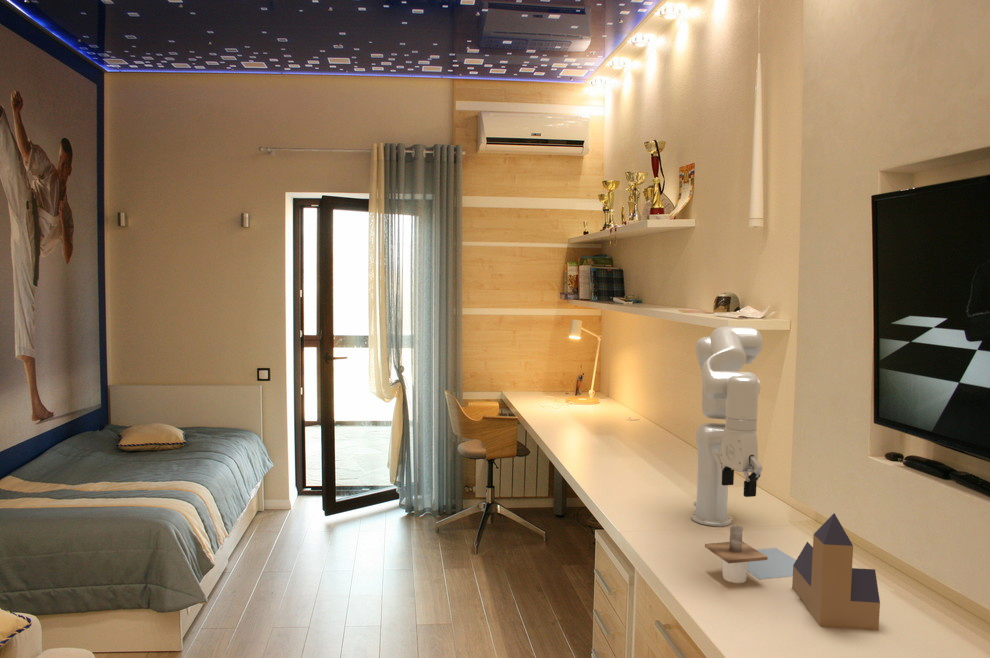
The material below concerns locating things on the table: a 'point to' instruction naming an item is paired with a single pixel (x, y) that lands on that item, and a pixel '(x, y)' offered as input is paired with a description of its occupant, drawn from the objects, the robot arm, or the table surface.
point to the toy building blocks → (835, 581)
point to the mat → (772, 565)
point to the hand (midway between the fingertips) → (738, 490)
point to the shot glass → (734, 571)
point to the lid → (735, 548)
